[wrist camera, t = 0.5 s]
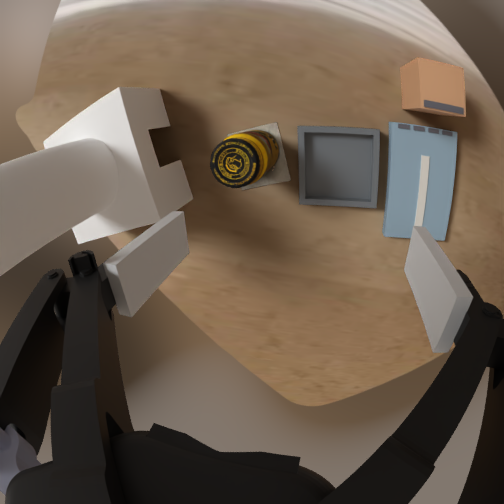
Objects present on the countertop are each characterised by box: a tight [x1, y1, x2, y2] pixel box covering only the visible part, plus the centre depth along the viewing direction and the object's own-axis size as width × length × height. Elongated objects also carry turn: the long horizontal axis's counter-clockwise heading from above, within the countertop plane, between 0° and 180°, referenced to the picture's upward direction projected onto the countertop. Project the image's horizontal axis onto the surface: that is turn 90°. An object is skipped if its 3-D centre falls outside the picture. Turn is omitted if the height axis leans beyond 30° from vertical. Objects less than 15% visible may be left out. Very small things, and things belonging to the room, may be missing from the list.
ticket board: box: [382, 122, 457, 241], centre depth 33 cm, size 16×10×2 cm, turn 4°
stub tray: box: [298, 126, 380, 208], centre depth 35 cm, size 11×11×2 cm
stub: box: [400, 57, 466, 117], centre depth 25 cm, size 6×6×8 cm
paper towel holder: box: [0, 87, 193, 276], centre depth 30 cm, size 19×19×30 cm
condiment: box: [210, 122, 291, 190], centre depth 33 cm, size 7×8×12 cm
